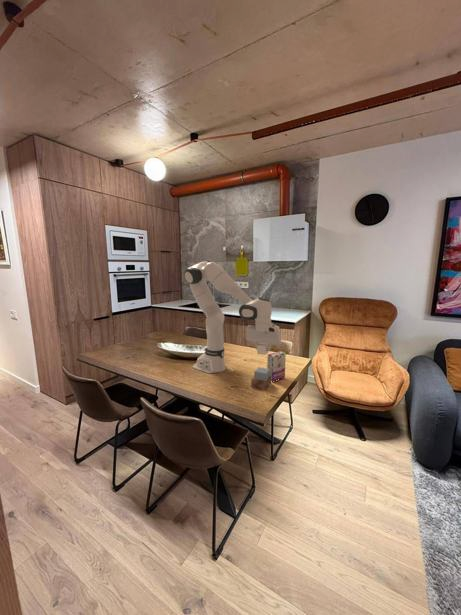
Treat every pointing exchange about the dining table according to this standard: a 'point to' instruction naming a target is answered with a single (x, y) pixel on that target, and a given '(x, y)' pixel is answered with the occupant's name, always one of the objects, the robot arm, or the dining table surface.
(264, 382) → the tan wooden block
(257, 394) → the dining table surface
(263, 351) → the cream cube
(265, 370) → the grey square block
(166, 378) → the dining table surface
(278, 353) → the candy bar box
